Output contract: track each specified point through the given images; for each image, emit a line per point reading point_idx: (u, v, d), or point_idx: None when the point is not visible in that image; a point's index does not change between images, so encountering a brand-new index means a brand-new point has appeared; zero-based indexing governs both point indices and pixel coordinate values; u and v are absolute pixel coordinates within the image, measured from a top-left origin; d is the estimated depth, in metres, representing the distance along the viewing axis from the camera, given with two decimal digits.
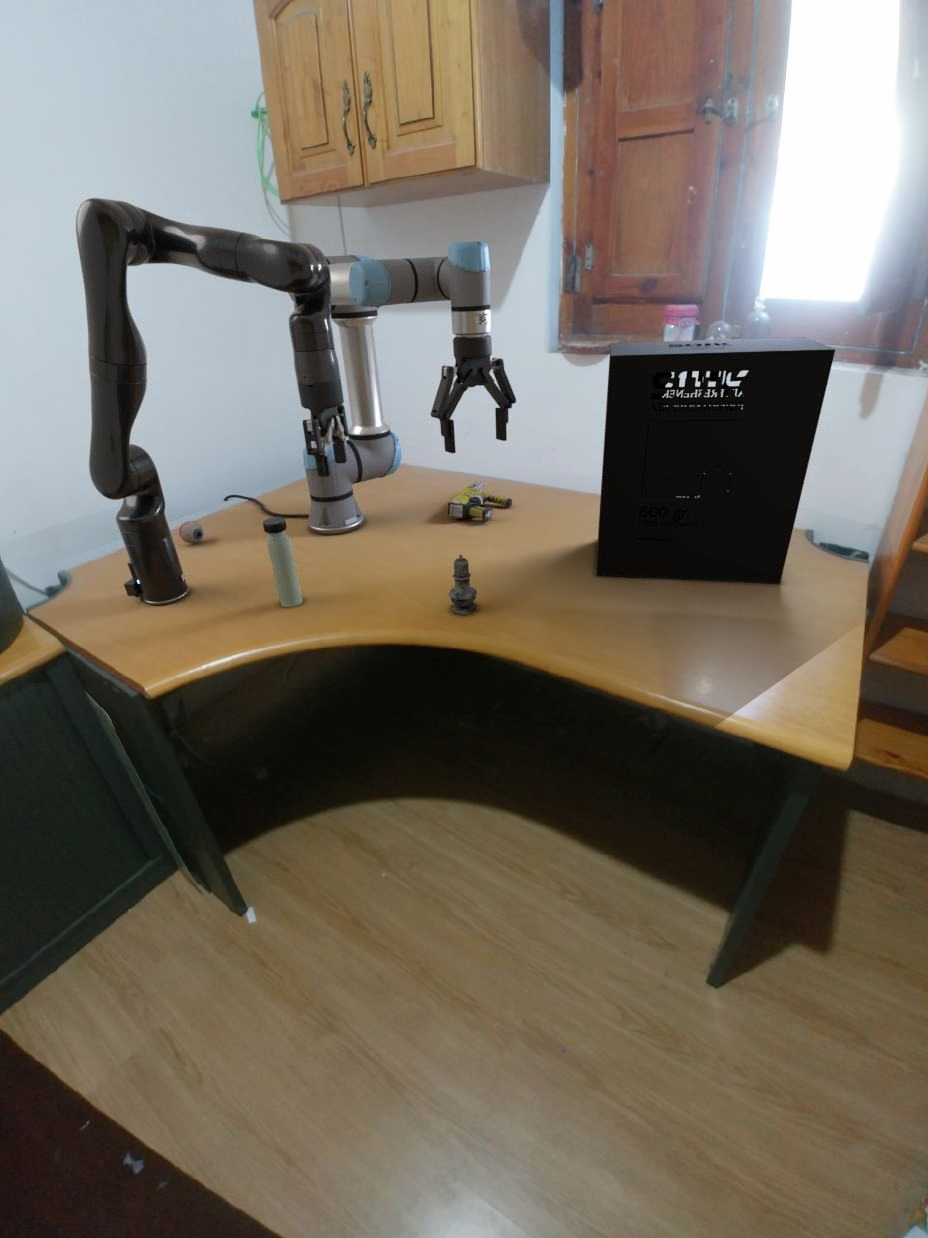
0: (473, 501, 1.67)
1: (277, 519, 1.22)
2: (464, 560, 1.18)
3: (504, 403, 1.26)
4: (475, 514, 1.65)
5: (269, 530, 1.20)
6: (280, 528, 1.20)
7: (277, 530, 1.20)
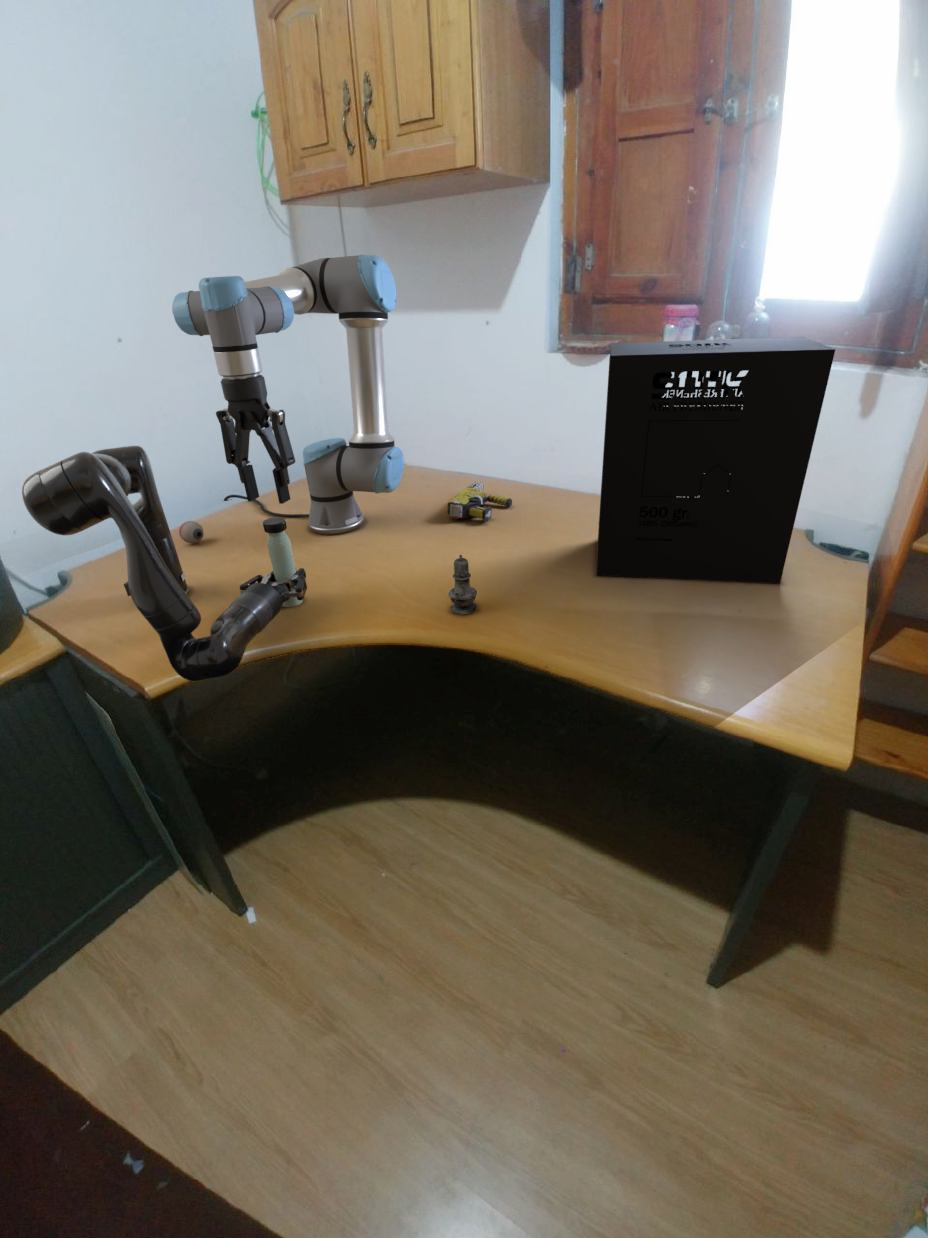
0: (473, 501, 1.67)
1: (277, 519, 1.22)
2: (464, 560, 1.18)
3: None
4: (475, 514, 1.65)
5: (269, 530, 1.20)
6: (280, 528, 1.20)
7: (277, 530, 1.20)
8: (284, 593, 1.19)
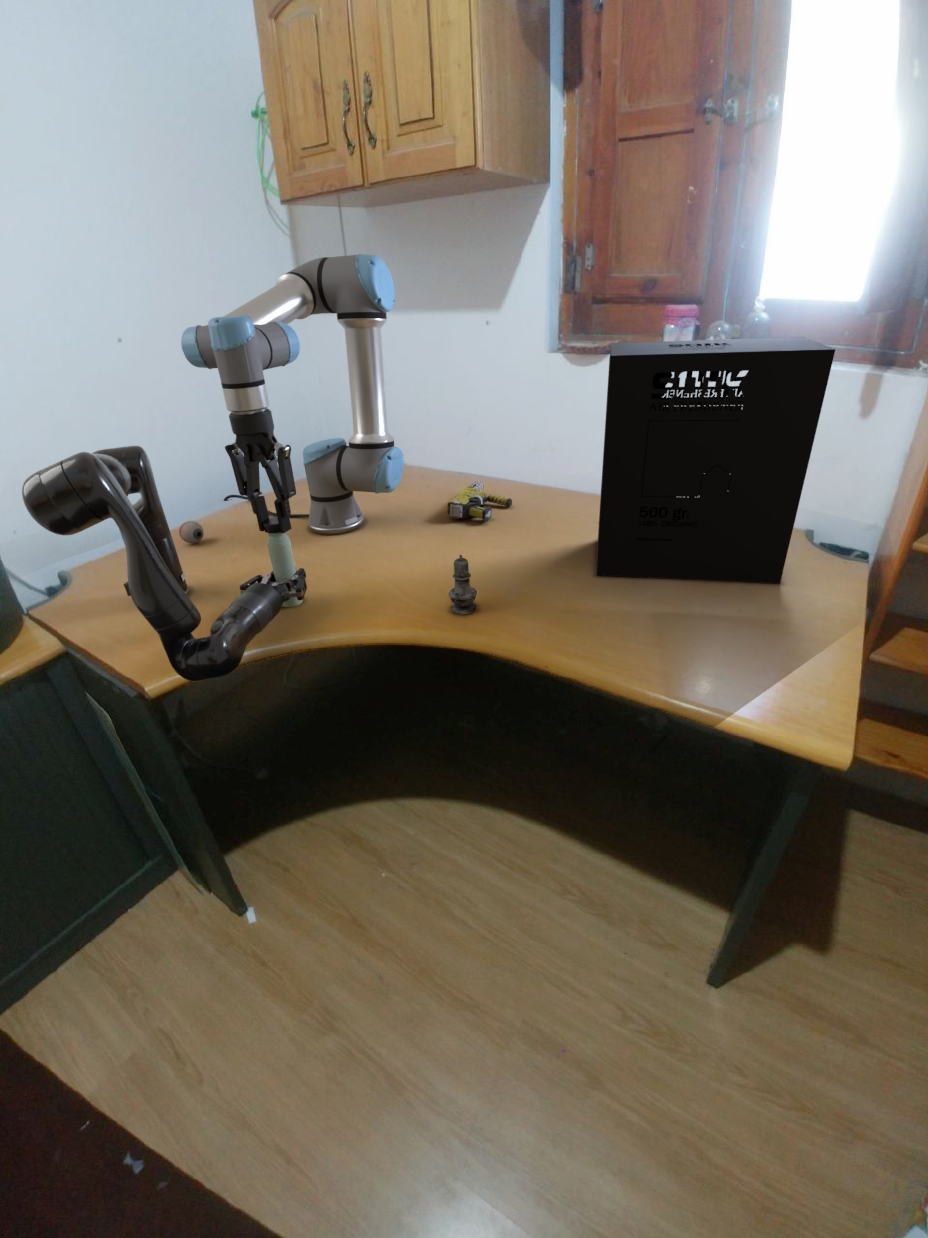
0: (473, 501, 1.67)
1: (277, 519, 1.22)
2: (464, 560, 1.18)
3: None
4: (475, 514, 1.65)
5: (269, 530, 1.20)
6: None
7: (277, 530, 1.20)
8: (284, 593, 1.19)
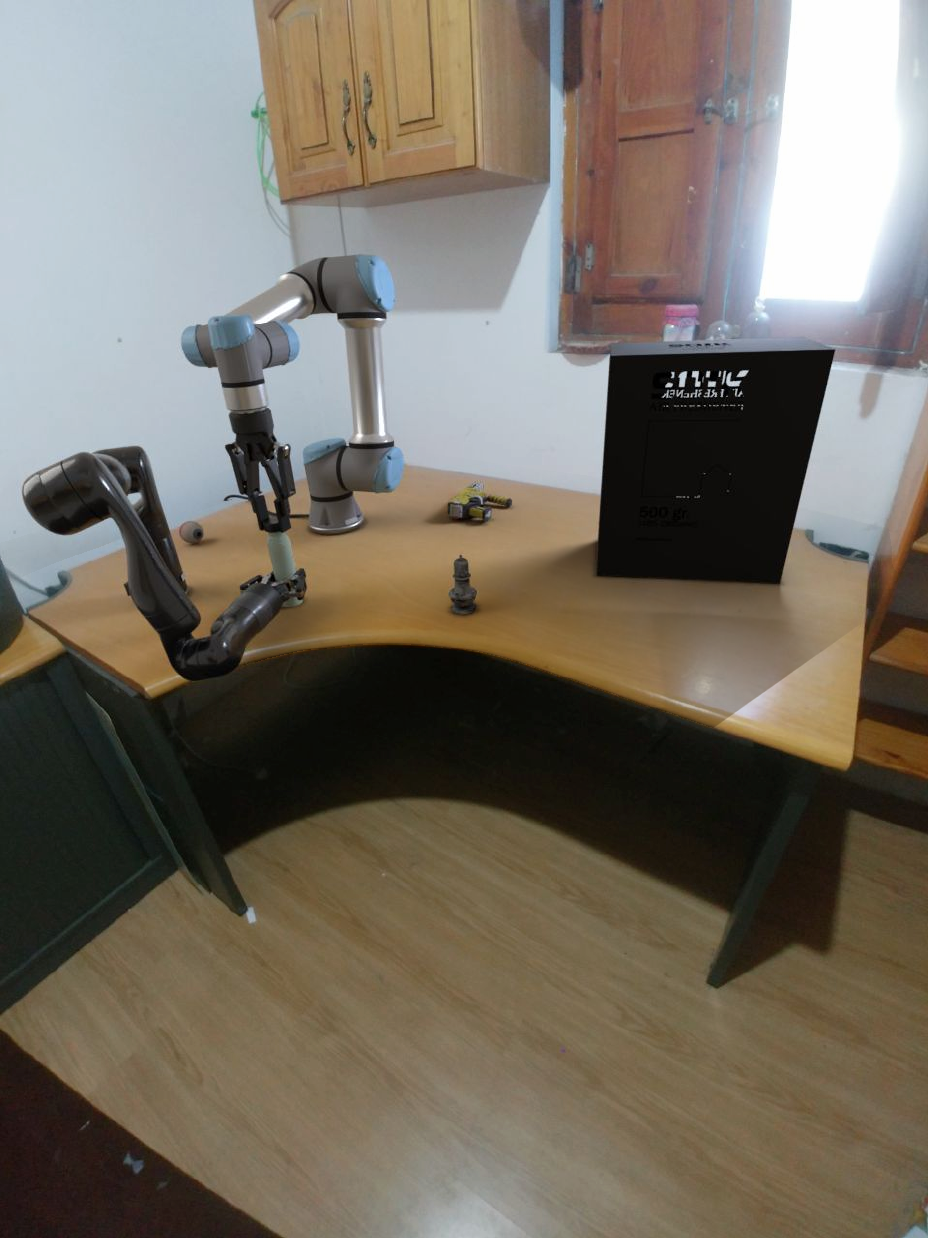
0: (473, 501, 1.67)
1: (269, 520, 1.21)
2: (464, 560, 1.18)
3: None
4: (475, 514, 1.65)
5: None
6: None
7: None
8: (284, 593, 1.19)
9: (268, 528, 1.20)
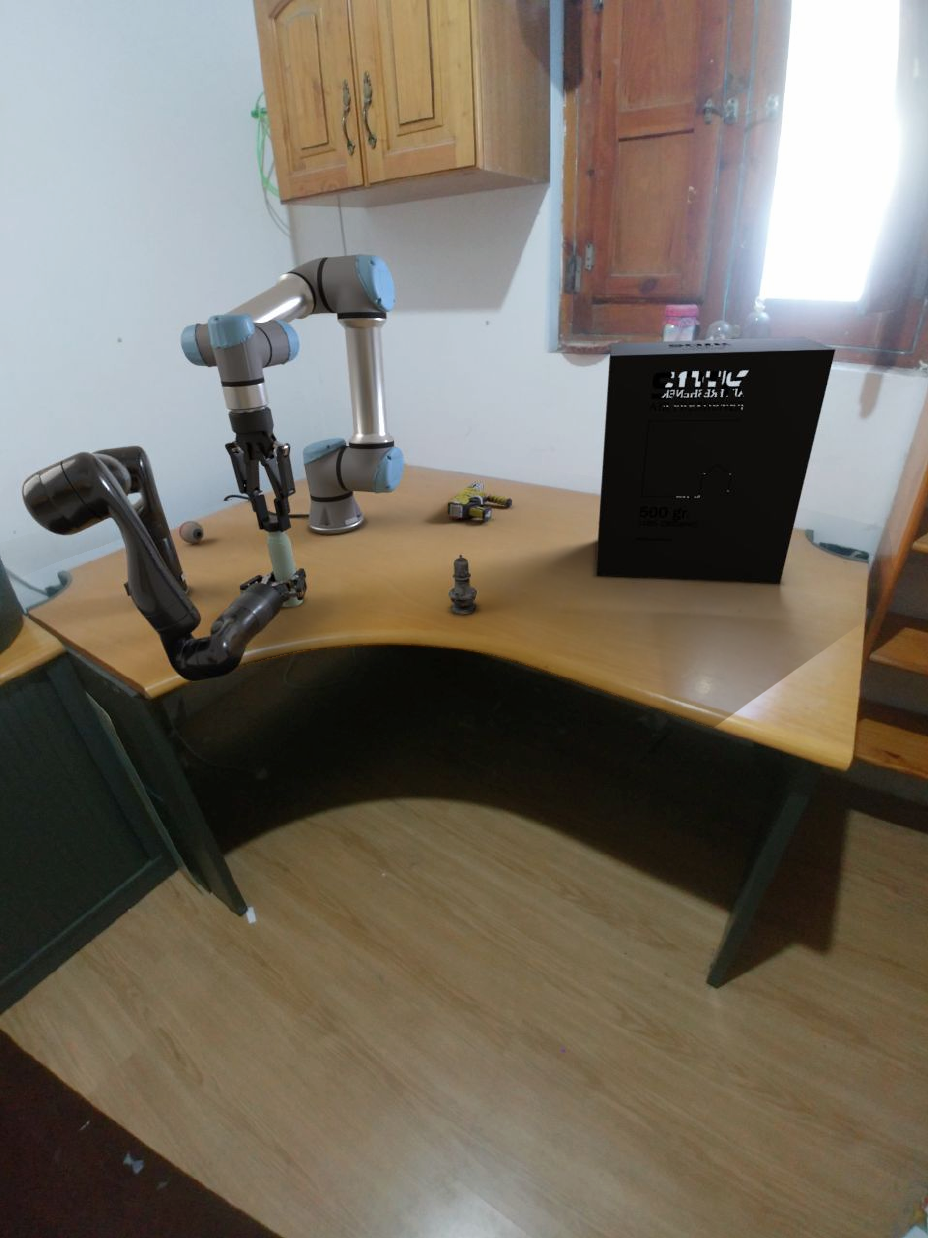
0: (473, 501, 1.67)
1: (276, 519, 1.21)
2: (464, 560, 1.18)
3: None
4: (475, 514, 1.65)
5: None
6: (266, 528, 1.20)
7: (264, 528, 1.20)
8: (284, 593, 1.19)
9: None
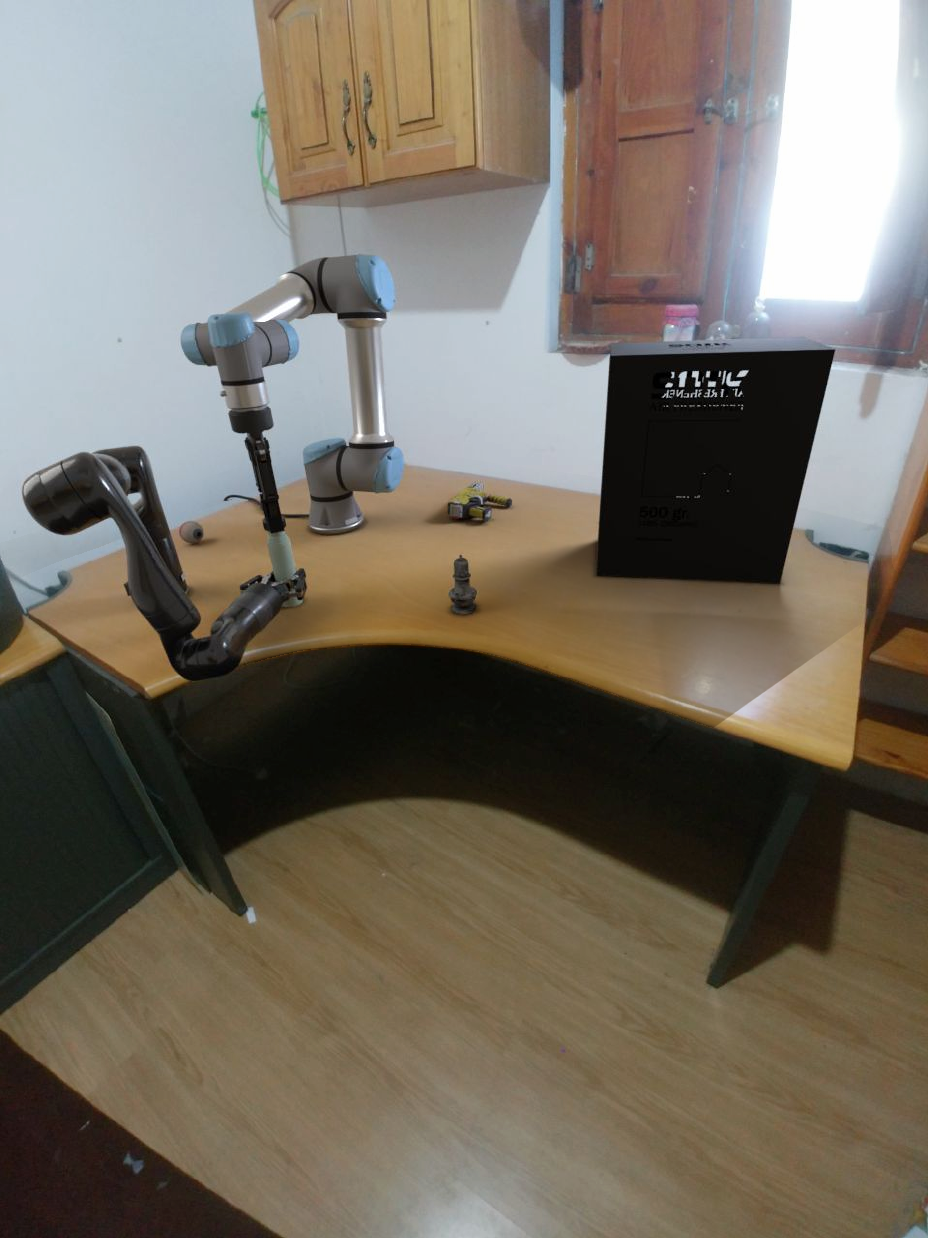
0: (473, 501, 1.67)
1: None
2: (464, 560, 1.18)
3: (263, 494, 1.15)
4: (475, 514, 1.65)
5: None
6: (285, 522, 1.22)
7: (285, 524, 1.21)
8: (284, 593, 1.19)
9: None
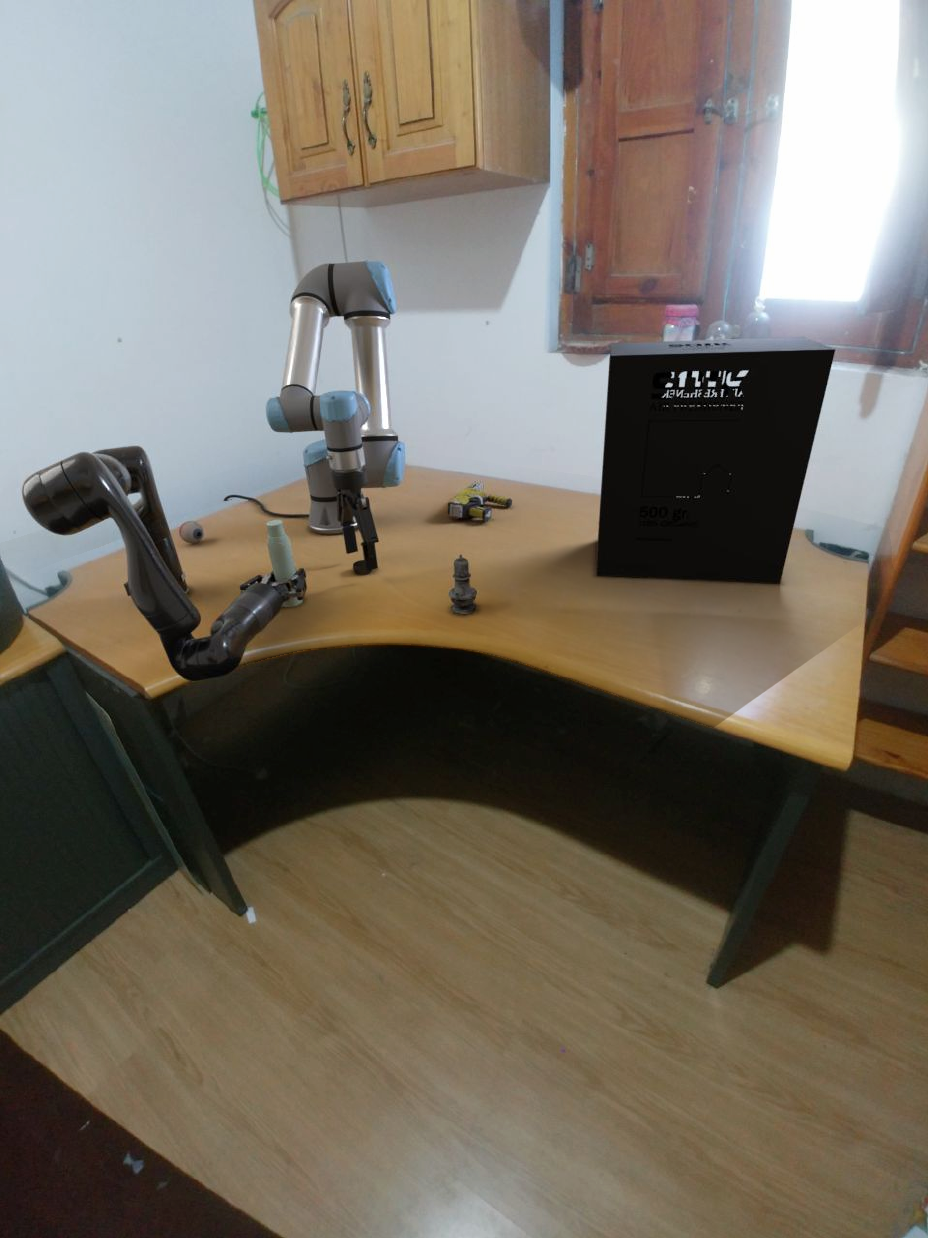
0: (473, 501, 1.67)
1: (361, 562, 1.42)
2: (464, 560, 1.18)
3: (362, 538, 1.32)
4: (475, 514, 1.65)
5: None
6: None
7: None
8: (284, 593, 1.19)
9: None
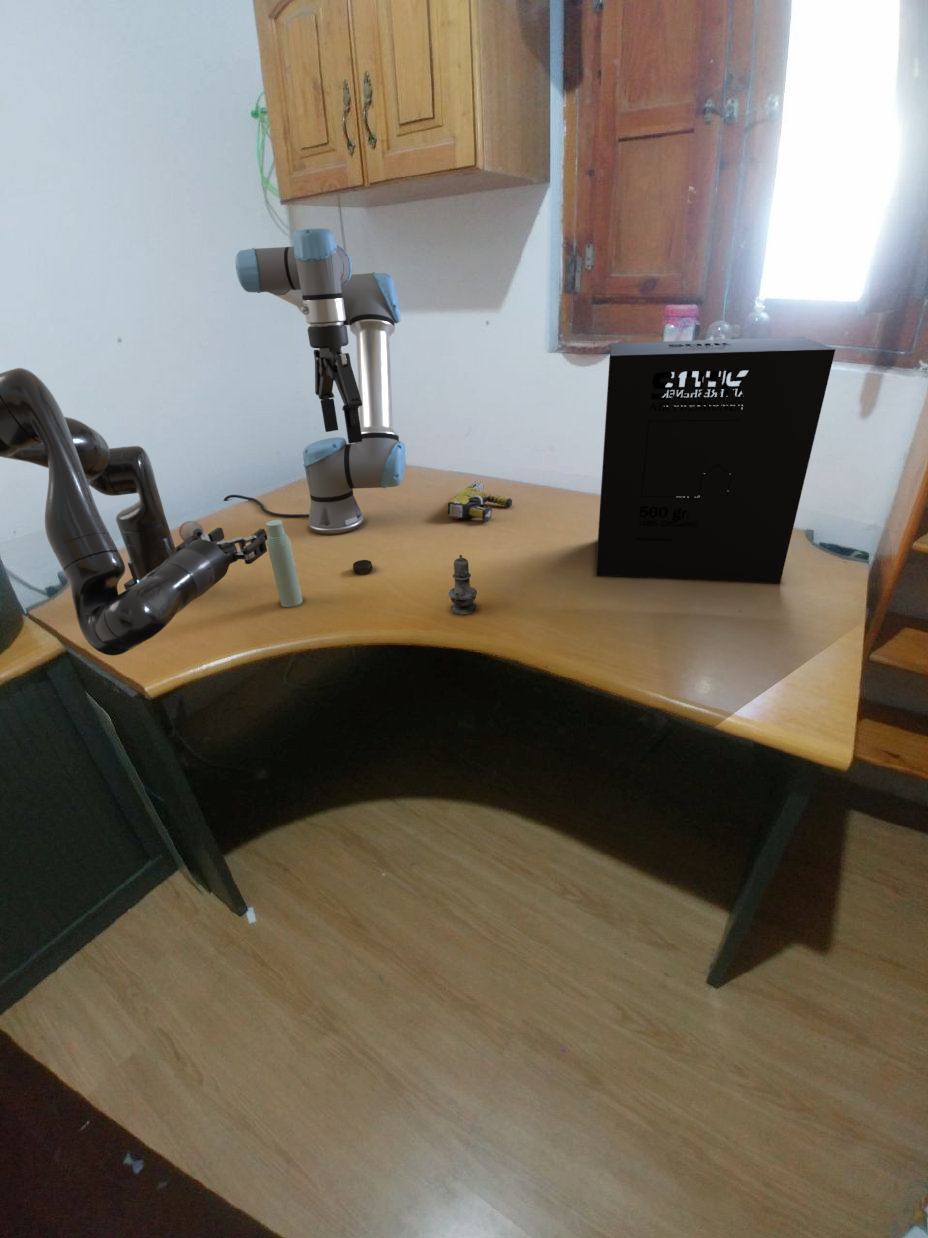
0: (473, 501, 1.67)
1: (361, 562, 1.42)
2: (464, 560, 1.18)
3: (344, 403, 1.17)
4: (475, 514, 1.65)
5: (369, 570, 1.41)
6: None
7: (372, 568, 1.42)
8: (231, 552, 1.00)
9: None
